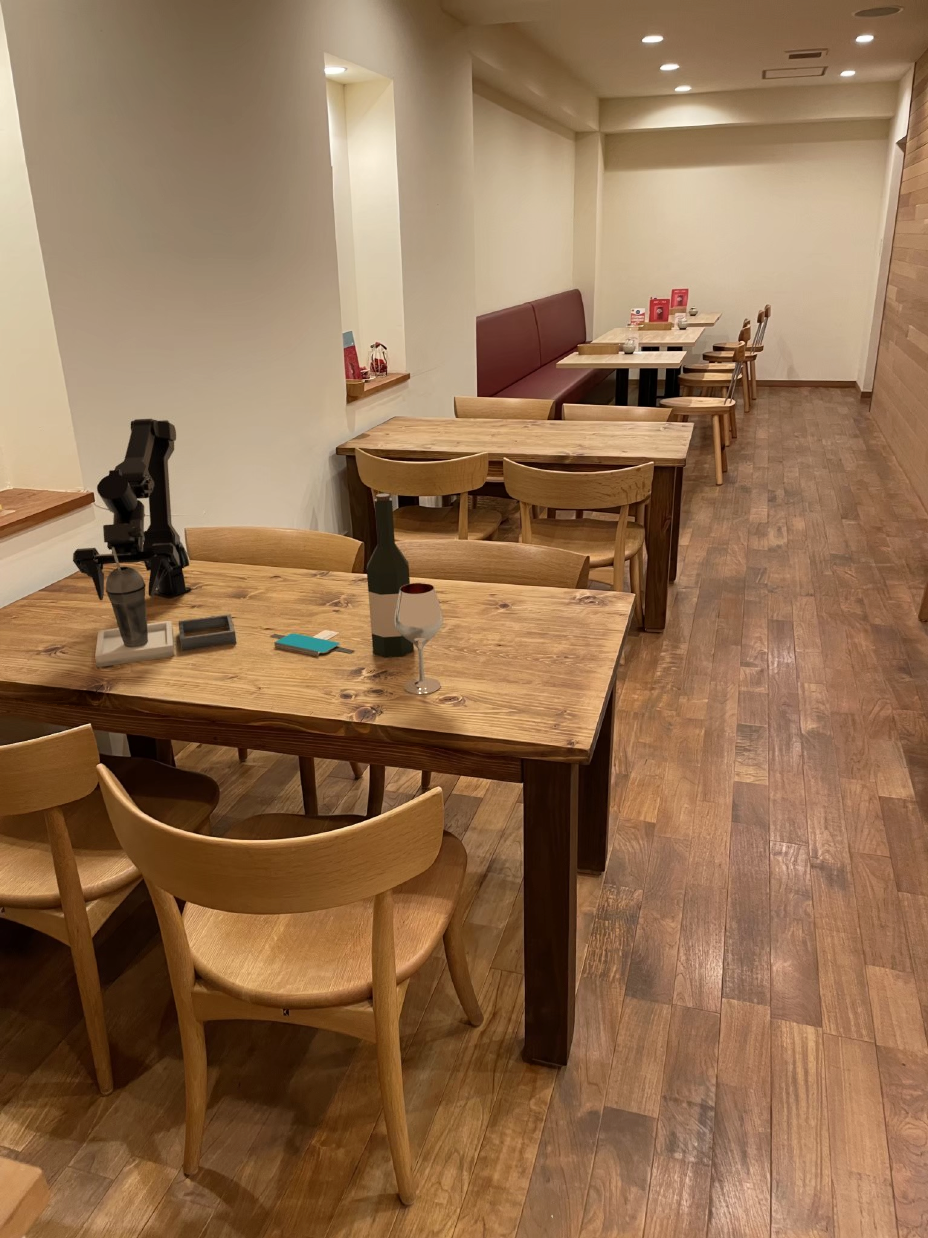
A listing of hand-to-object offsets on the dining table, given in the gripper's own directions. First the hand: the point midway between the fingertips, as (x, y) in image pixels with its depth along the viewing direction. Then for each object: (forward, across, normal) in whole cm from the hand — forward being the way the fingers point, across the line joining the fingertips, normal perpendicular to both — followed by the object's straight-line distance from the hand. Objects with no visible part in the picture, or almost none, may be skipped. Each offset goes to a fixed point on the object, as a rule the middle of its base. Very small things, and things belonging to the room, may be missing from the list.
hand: (125, 597), depth 171 cm
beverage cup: (+6, 0, +8) cm, 10 cm away
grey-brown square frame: (+5, +13, +11) cm, 18 cm away
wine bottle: (+15, +50, +1) cm, 52 cm away
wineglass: (+27, +54, -11) cm, 62 cm away
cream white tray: (+7, 0, +9) cm, 11 cm away
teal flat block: (+10, +35, +6) cm, 37 cm away
